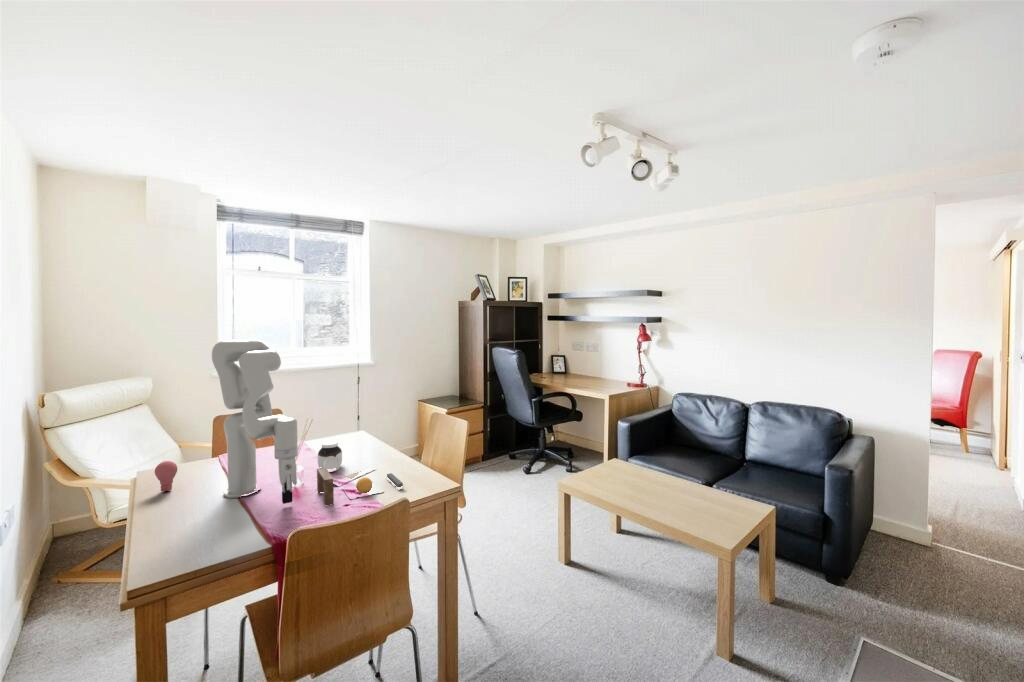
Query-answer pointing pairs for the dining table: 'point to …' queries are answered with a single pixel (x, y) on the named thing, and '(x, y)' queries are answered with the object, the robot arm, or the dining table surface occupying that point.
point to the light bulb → (166, 474)
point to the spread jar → (330, 455)
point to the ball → (364, 485)
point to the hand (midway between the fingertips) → (287, 502)
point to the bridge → (325, 485)
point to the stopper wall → (395, 480)
